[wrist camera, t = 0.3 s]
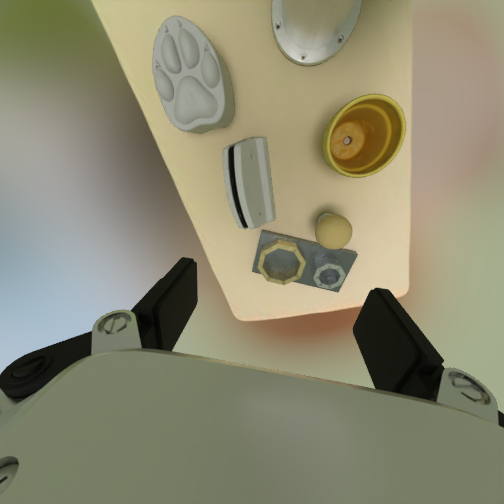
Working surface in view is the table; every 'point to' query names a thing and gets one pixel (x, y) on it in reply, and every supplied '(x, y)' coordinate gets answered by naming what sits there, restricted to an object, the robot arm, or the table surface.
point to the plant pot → (364, 135)
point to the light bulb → (333, 231)
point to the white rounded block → (249, 182)
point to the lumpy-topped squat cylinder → (191, 78)
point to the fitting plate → (310, 256)
